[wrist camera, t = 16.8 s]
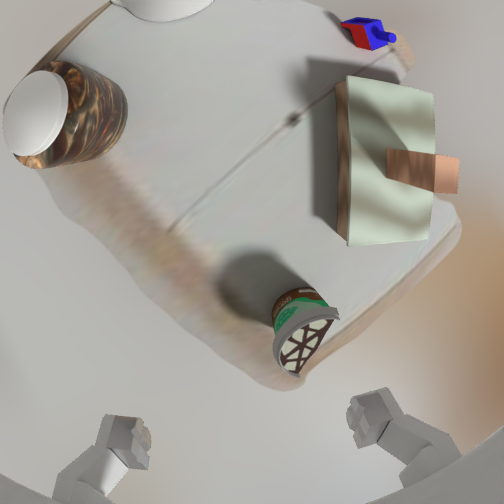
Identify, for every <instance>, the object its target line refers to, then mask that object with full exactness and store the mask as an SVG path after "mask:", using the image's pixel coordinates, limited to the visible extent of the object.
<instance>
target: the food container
mask: <svg viewBox="0 0 504 504" xmlns="http://www.w3.org/2000/svg"><path fill="white" fill-rule="evenodd" d="M338 316H339V313H338V311H337V308H334V307H329V305H328V304H327V303H326V302H325V301H324V300H323V298H322V297H321V296H320V295H319V294H318V293H317V291H316V290H315V289H312V288H308V287H307V288H297V289H293V290H290V291H288V292H287V293H285V294H284V295H282V296H281V297H280V298H279V299H278V300H277V301H276V303H275V305H274V307H273V310H272V319H273V325H274V332H275V338H274V342H273V354H274V357H275V359H276V361H277V362H278V364H279V365H280V367H281V368H282V369H283V370H284V371H285V372H286V373H287V374H289V375H291V376H293V377H296V378H300V376H299V372H300V370H301V369H302V367H303V366H304V364H305V363H306V361H307V360H308V359H309V358H310V357H311V356H312V354H313V353H314V352H315V351H316V350H317V348H318V346H319V345H320V343H321V341H322V339H323V337H324V335H325V333H326V332H327V330H328V329H329V327H330V326H331V324H332V322H333V321H334V319H336V320H340V319H339V317H338Z"/></svg>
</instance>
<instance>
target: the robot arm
mask: <svg viewBox="0 0 504 504" xmlns="http://www.w3.org/2000/svg"><path fill="white" fill-rule="evenodd" d="M212 1H213V0H111V2H112V3H113V4H115V5H119V6H123V7H125V8H127V9H128V10H129V11H130V12H131V13H132V14H133V15H135V16H136V17H138V18H140V19H143V20H148V21H156V22H162V21H172V20H177V19H181V18H184V17H187V16H190V15H192V14H194V13H196V12H198V11H200V10H202V9H203V8H205V7H206V6H208V5H209V4H210V3H211V2H212ZM350 403H351V406H350V407H349V408H348V409H347V413H346V415H347V422H348V425H349V428H350V429H352V430H353V431H355V433H354V435H353V437H354V440H355V442H356V445H357V447H358V449H359V448H362V447H366V446H369V445H372V444H375V443H377V445H379V446H380V447H382V448H383V449H384V450H386V451H387V452H389V453H390V454H391V455H393V456H394V457H396V458H397V459H399V460H400V461H402V462H403V463H405V464H406V465H407V466H406V467H405V469H404V470H403V471H402V472H401V473H400V475H399V477H400V480H401V482H402V484H403V487H404V488H403V489H401V490H399V491H397V492H394V493H392V494H390V495H387V496H385V497H382V498H380V499H377V500H375V501H372V502H369V503H366V504H504V425H503V426H502V427H500V428H499V429H498V430H497V431H496V432H494V433H493V434H492V435H491V436H489V437H488V438H487V439H485V440H484V441H483V442H481V443H480V444H479V445H477V446H476V447H474V448H473V449H472V450H470V451H469V452H467V453H466V454H464V455H463V456H462V455H461V453H460V451H459V450H458V448H457V446H456V445H455V443H454V442H453V440H452V438H451V437H450V435H449V434H447V433H445V432H443V431H441V430H439V429H437V428H435V427H432V426H430V425H428V424H426V423H424V422H422V421H420V420H418V419H416V418H414V417H412V416H410V415H408V414H406V415H404V413H403V412H402V410H401V408H400V407H399V405H398V403H397V402H396V400H395V398H394V397H393V395H392V393H391V392H390V390H389V389H388V388H387V387H384V388H381V389H378V390H374V391H370V392H367V393H364V394H361V395H357V396H353V397H352V398H351V400H350ZM143 424H144V422H143V420H142V419H141V418H138V417H125V416H117V415H108V414H105V416H104V417H103V419H102V423H101V426H100V429H99V433H98V436H97V440H96V443H95V446H93V445H92V446H91V447H90V448H88V449H87V450H86V451H85V452H84V453H82V454H81V455H80V456H79V457H78V458H77V459H75V461H73V462H72V463H71V464H70V465H68V466H67V467H66V468H65V469H63V470H62V471H61V472H60V473H59V474H58V476H57V480H56V484H55V488H54V492H53V496H52V499H51V498H49V497H46V496H44V495H42V494H40V493H37V492H35V491H33V490H31V489H29V488H27V487H25V486H23V485H21V484H19V483H16V482H15V481H13V480H11V479H9V478H7V477H6V476H4V475H2V474H0V504H115V503H114V502H112V501H111V500H110V499H108V498H107V497H106V496H107V495H108V494H109V492H110V491H111V490H112V489H113V488H114V486H115V485H116V484H117V483H118V482H119V480H120V479H121V478H122V477H123V476H124V475H125V473H126V472H127V471H128V470H129V469H128V468H132V469H141V470H148V464H149V456H148V454H147V453H146V452H147V451H148V450H149V449H150V448H151V435H150V432H149V430H148V428H146V427H145V426H143Z"/></svg>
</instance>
